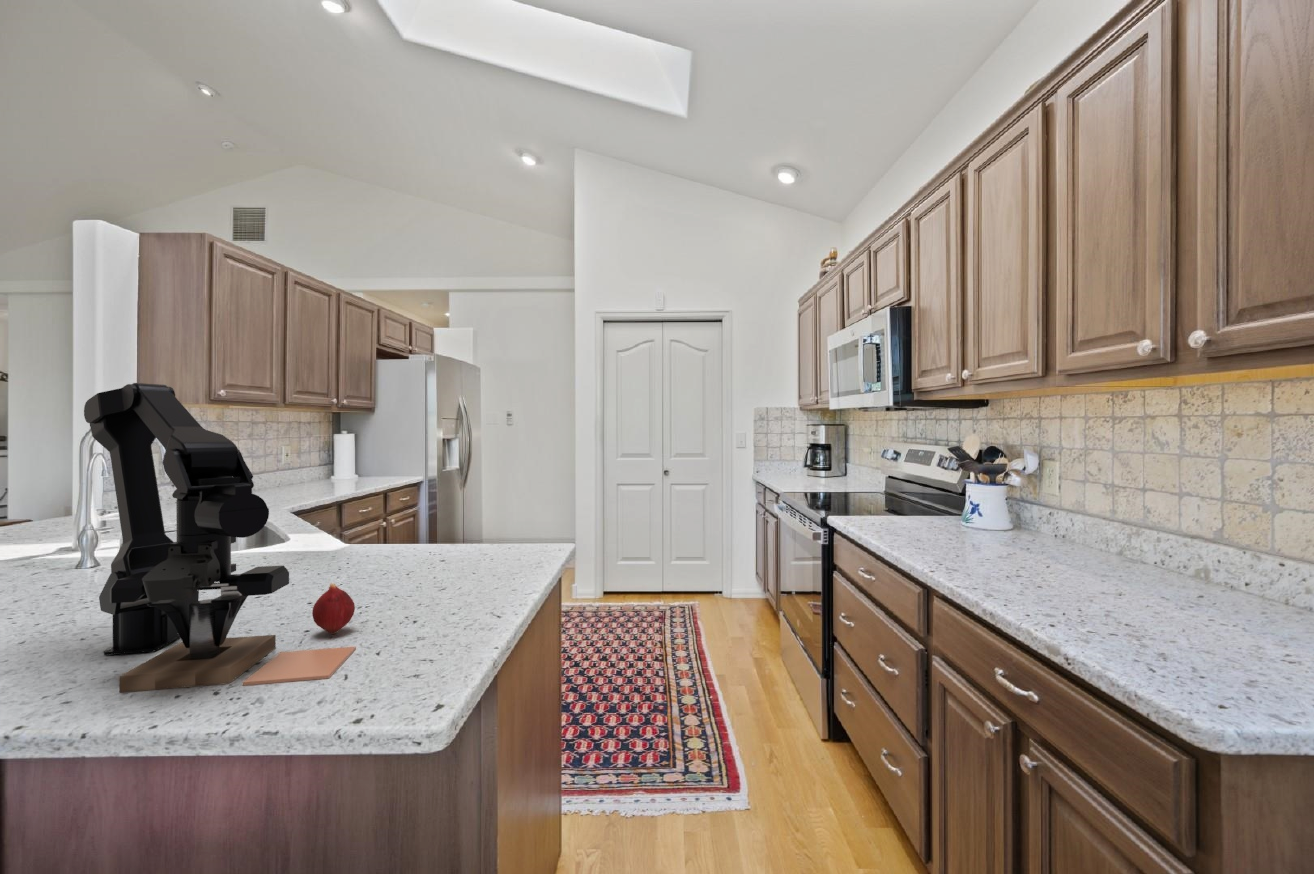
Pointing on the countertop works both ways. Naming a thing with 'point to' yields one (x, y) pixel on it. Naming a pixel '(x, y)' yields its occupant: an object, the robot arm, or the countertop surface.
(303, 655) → the tile
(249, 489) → the robot arm
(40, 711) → the countertop surface
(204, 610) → the peg
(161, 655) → the plate
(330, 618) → the onion
